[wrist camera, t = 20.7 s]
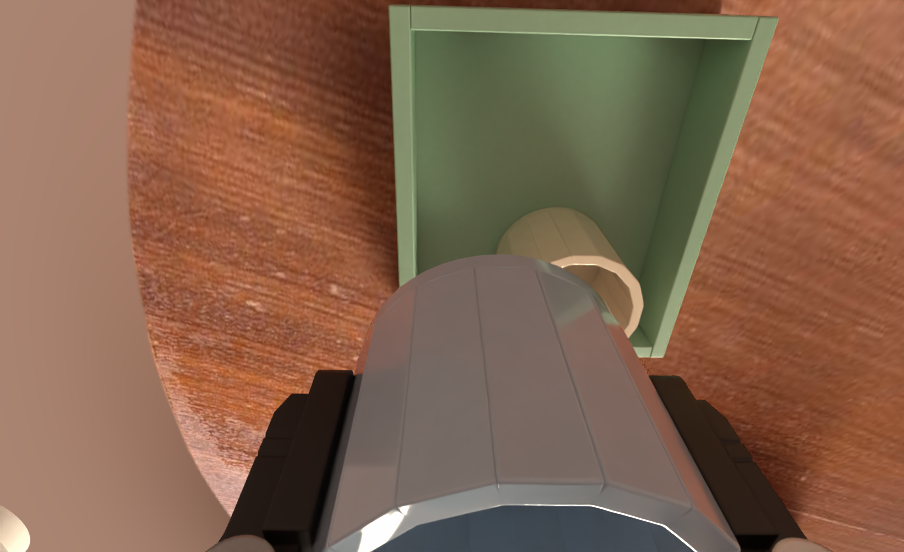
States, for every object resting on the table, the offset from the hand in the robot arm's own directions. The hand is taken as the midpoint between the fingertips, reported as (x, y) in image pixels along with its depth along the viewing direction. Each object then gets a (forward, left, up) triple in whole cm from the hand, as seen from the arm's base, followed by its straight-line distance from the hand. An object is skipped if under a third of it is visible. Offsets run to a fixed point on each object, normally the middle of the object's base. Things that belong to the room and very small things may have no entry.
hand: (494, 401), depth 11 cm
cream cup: (+5, -5, -15) cm, 17 cm away
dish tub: (+4, -1, -16) cm, 17 cm away
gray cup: (0, 0, -1) cm, 1 cm away
